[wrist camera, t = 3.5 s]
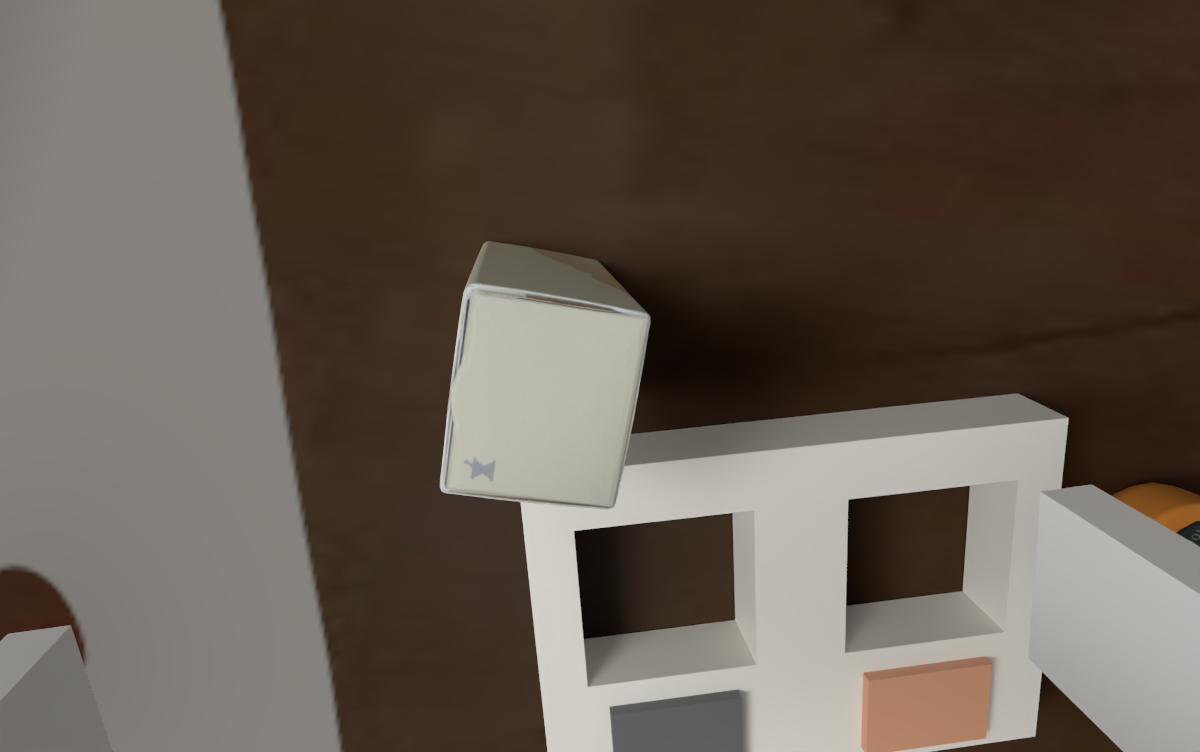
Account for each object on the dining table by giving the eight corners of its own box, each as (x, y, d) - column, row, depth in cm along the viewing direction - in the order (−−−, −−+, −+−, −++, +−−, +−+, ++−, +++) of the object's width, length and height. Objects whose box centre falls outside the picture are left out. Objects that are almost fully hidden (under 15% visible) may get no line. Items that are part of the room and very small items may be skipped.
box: (577, 391, 29) (614, 526, 19) (461, 374, 29) (432, 505, 18) (602, 251, 28) (657, 312, 17) (481, 231, 27) (462, 281, 17)
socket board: (1017, 393, 31) (1078, 422, 28) (992, 688, 35) (1043, 745, 32) (517, 446, 30) (518, 483, 26) (549, 749, 34) (554, 816, 30)
